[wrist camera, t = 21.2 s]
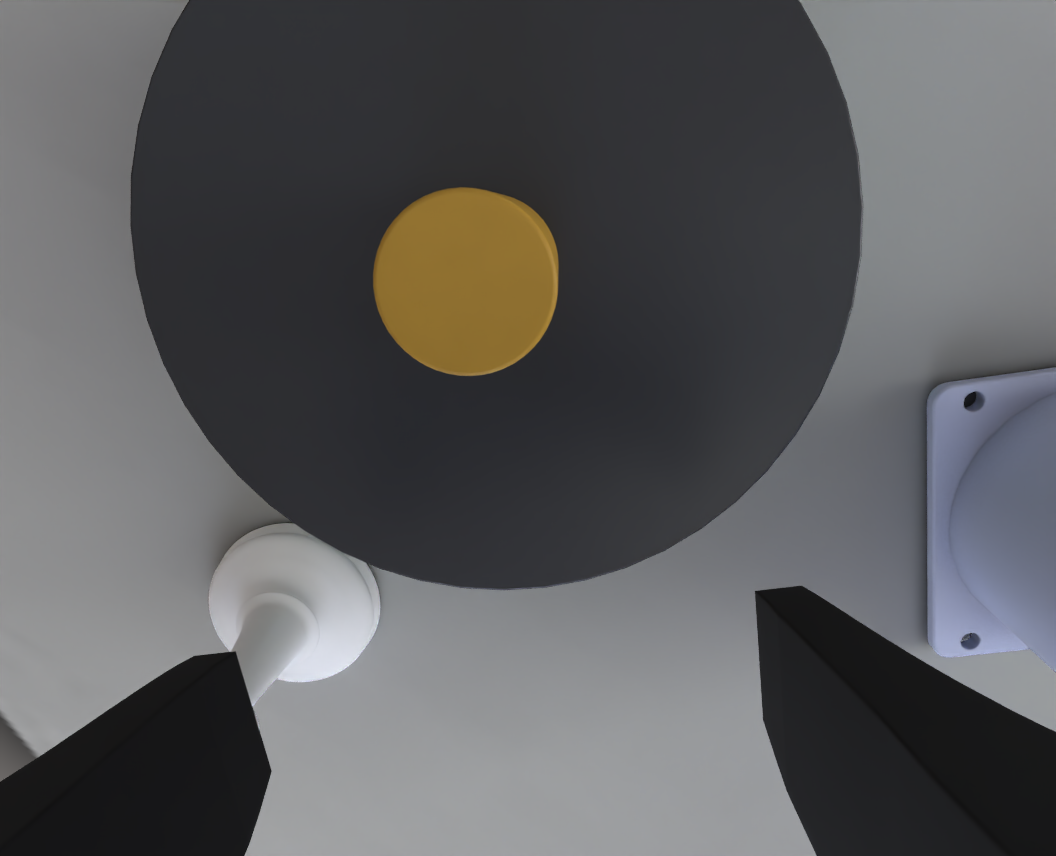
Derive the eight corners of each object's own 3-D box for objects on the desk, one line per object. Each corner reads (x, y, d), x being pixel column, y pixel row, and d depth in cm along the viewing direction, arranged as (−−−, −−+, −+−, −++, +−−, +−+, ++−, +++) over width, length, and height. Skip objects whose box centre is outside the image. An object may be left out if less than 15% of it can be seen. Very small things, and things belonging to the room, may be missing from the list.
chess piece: (184, 603, 22) (-111, 912, 12) (278, 488, 21) (33, 732, 11) (315, 699, 23) (136, 1060, 13) (414, 594, 21) (296, 906, 12)
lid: (826, -214, 12) (995, -481, 7) (851, 525, 15) (975, 660, 11) (68, -57, 13) (-204, -205, 8) (259, 598, 16) (143, 748, 12)
